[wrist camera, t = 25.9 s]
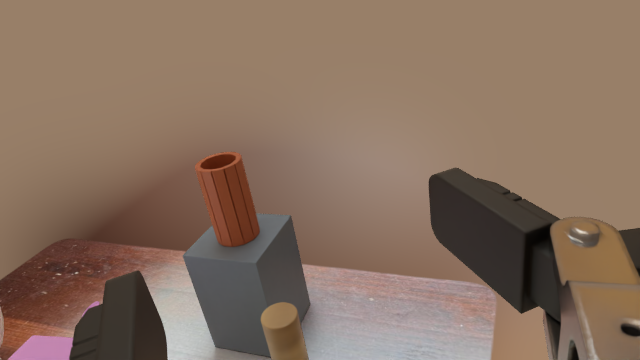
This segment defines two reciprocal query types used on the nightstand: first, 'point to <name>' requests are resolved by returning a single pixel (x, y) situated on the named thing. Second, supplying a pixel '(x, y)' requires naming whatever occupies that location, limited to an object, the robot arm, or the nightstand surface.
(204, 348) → the nightstand surface
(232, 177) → the holder
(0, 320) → the mug
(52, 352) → the teapot
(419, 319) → the nightstand surface
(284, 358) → the stick
